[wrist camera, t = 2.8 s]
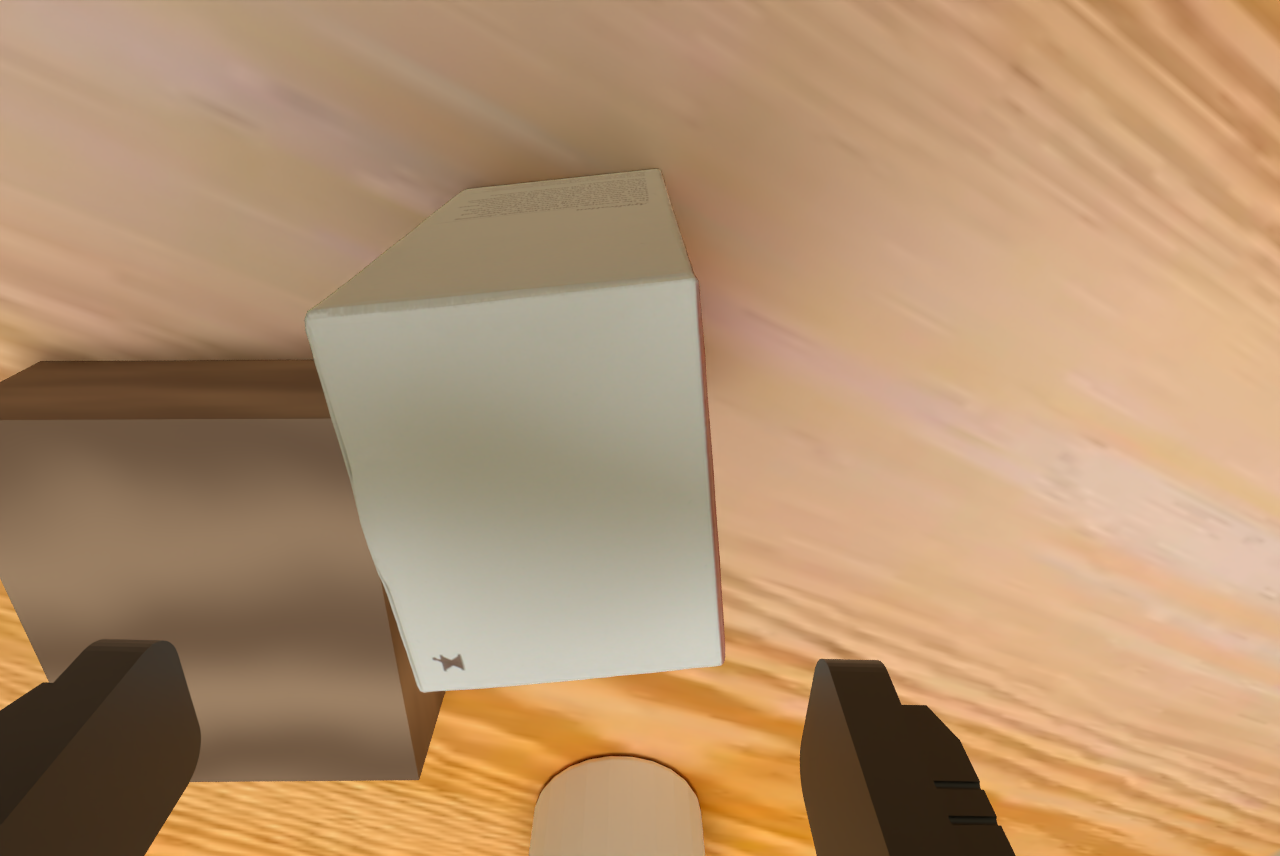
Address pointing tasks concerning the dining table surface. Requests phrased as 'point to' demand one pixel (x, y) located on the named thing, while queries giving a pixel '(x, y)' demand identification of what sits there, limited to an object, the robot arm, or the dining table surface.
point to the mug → (617, 811)
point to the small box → (533, 434)
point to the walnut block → (211, 557)
